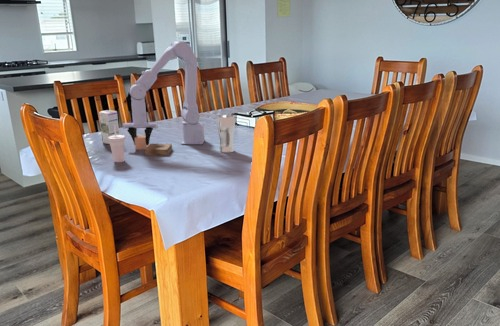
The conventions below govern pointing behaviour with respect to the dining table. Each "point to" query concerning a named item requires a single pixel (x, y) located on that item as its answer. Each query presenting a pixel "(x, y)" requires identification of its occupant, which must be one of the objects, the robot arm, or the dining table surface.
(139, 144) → the terracotta block
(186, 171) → the dining table surface
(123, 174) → the dining table surface
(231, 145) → the beer glass
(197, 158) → the dining table surface
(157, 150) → the walnut base
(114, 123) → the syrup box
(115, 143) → the smoothie
